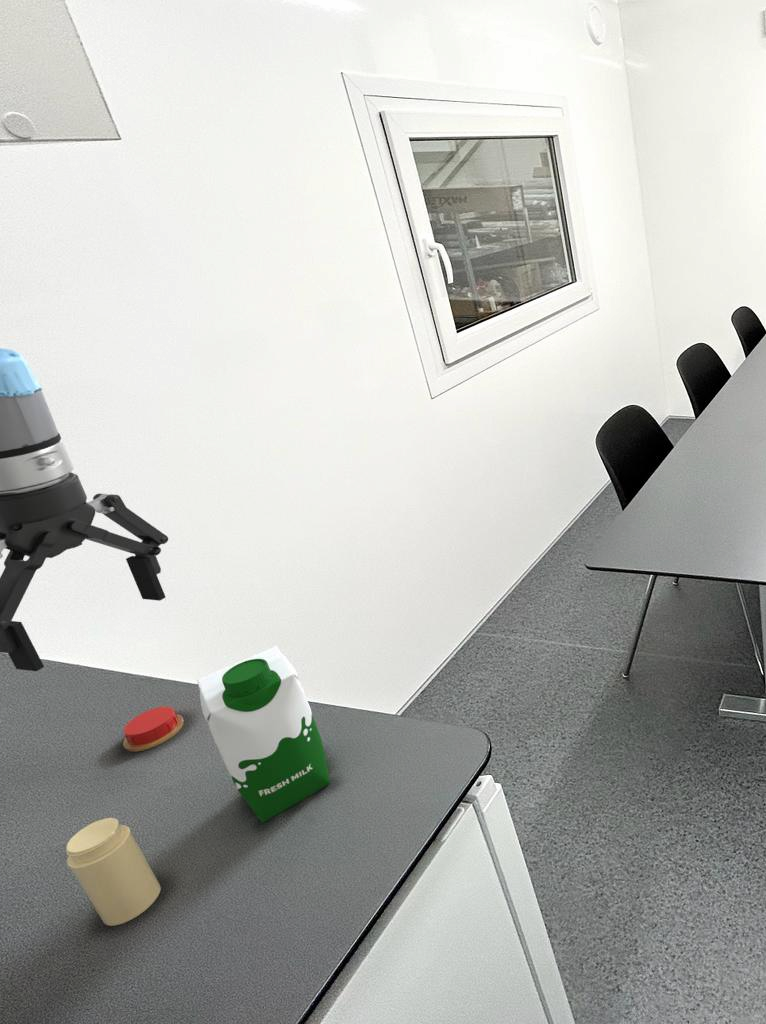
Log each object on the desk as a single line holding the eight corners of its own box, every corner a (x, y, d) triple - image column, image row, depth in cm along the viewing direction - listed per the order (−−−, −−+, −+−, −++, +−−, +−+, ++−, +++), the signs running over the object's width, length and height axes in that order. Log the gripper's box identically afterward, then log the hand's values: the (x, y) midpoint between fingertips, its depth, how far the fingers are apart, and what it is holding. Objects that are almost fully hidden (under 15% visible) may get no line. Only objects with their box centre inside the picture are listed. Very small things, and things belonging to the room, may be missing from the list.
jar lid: (186, 721, 88) (182, 711, 88) (143, 749, 84) (138, 738, 83) (163, 713, 90) (158, 702, 89) (120, 740, 85) (114, 729, 84)
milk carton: (255, 833, 74) (197, 704, 66) (237, 789, 79) (181, 665, 72) (341, 782, 80) (297, 659, 73) (319, 744, 85) (276, 626, 78)
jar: (89, 927, 64) (45, 857, 60) (130, 882, 68) (91, 815, 65) (134, 924, 65) (93, 855, 61) (172, 880, 69) (136, 812, 65)
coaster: (111, 752, 84) (109, 750, 84) (151, 717, 89) (150, 714, 89) (158, 750, 84) (156, 748, 84) (195, 715, 90) (194, 713, 90)
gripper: (-101, 540, 60) (-6, 708, 68) (170, 443, 84) (218, 576, 91) (-166, 534, 61) (-65, 701, 69) (120, 440, 84) (172, 572, 92)
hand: (97, 630), depth 80 cm, fingers open, 13 cm apart
